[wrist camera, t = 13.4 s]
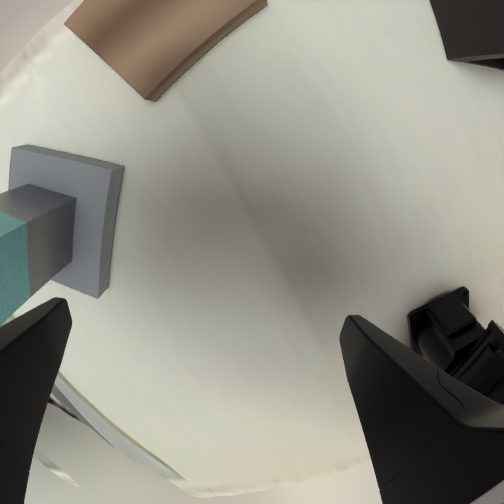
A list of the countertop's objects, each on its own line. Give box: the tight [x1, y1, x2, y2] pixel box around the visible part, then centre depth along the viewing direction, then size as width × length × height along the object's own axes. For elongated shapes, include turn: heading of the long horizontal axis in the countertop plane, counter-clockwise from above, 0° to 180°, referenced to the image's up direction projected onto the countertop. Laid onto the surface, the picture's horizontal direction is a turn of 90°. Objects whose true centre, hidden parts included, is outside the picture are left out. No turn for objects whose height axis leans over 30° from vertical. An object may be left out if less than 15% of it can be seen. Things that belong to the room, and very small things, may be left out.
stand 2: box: [64, 0, 267, 102], centre depth 14 cm, size 10×10×2 cm
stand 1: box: [8, 145, 124, 299], centre depth 20 cm, size 10×10×2 cm
